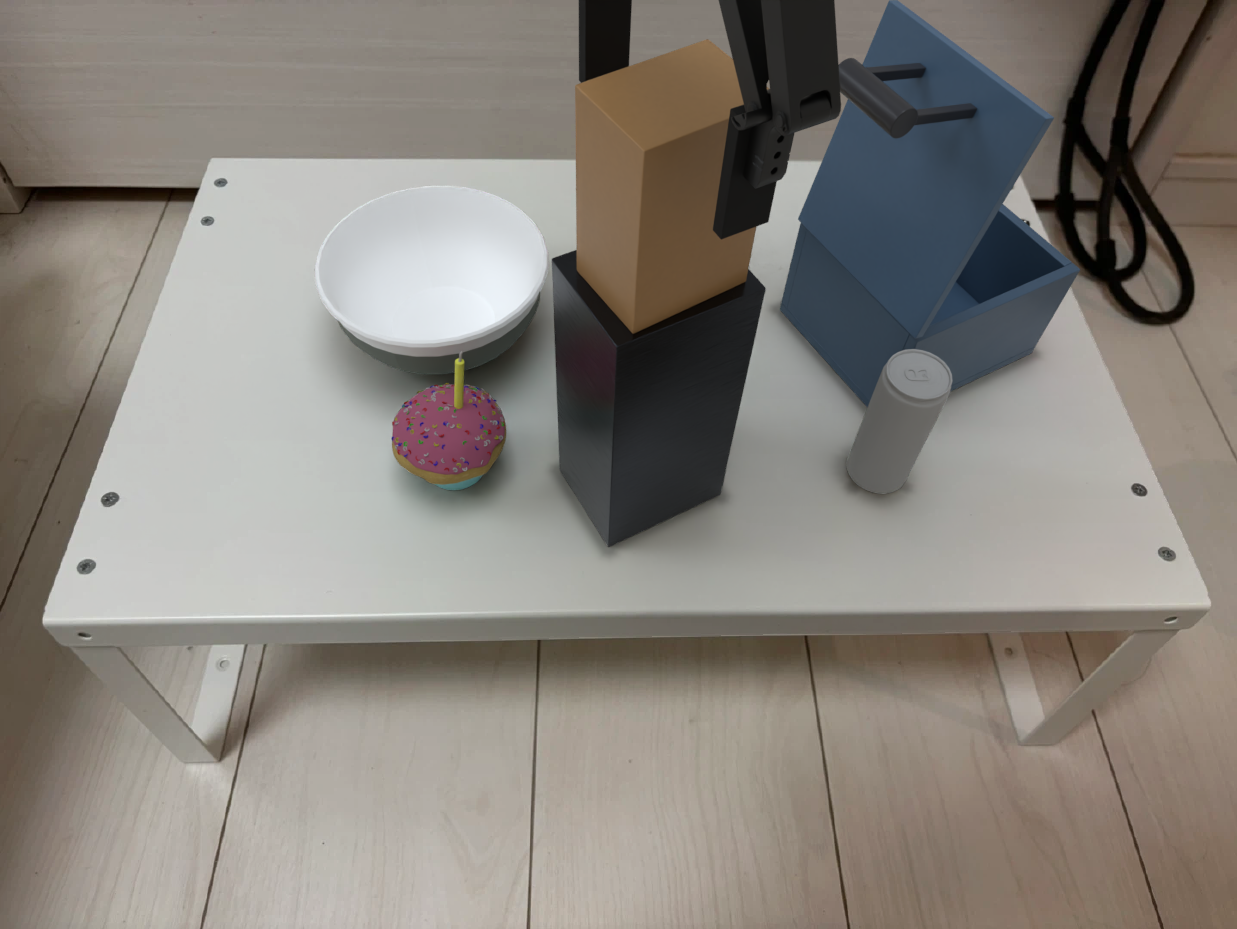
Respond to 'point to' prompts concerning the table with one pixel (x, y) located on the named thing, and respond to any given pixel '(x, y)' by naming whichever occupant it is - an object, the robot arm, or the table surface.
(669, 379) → the stand
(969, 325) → the chest
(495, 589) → the table surface
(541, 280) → the bowl
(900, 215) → the lid
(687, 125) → the package
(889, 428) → the beverage can
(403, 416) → the cupcake
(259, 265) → the table surface
